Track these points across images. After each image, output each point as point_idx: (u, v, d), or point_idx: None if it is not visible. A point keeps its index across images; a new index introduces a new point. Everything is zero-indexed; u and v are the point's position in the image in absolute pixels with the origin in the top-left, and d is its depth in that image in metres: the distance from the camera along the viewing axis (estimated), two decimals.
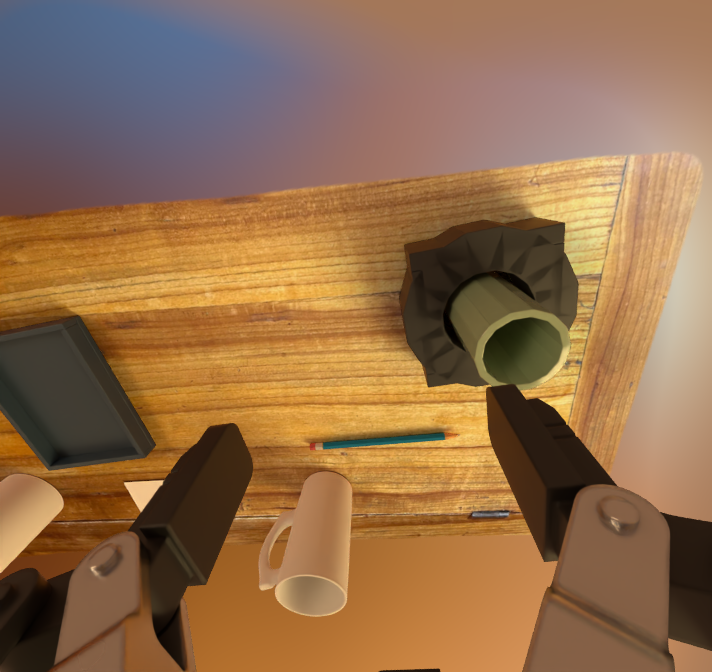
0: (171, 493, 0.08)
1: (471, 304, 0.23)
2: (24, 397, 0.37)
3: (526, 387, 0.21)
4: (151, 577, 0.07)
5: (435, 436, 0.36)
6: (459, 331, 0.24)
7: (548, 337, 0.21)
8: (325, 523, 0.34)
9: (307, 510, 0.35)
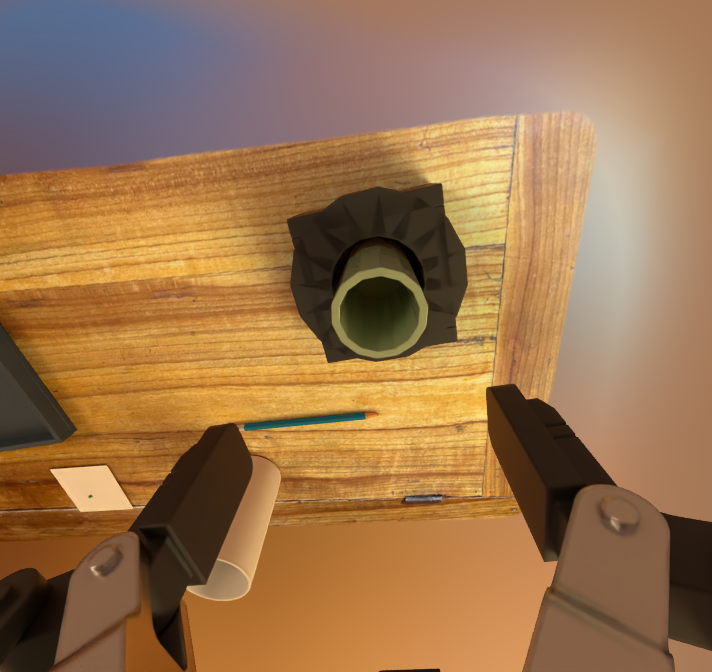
0: (171, 493, 0.08)
1: (345, 269, 0.22)
2: None
3: (391, 353, 0.20)
4: (151, 576, 0.07)
5: (356, 415, 0.35)
6: None
7: (416, 301, 0.20)
8: None
9: None
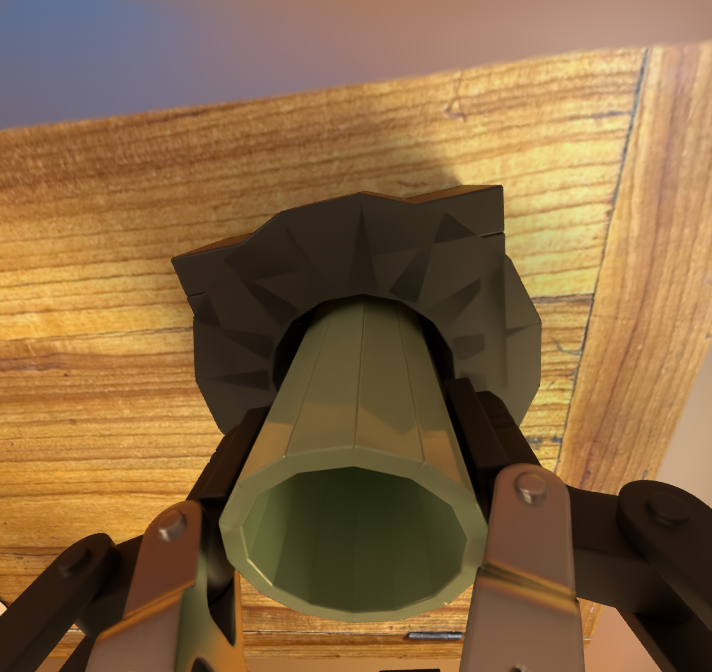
0: (223, 467, 0.08)
1: (285, 377, 0.10)
2: None
3: (386, 617, 0.08)
4: (213, 542, 0.07)
5: None
6: None
7: None
8: None
9: None
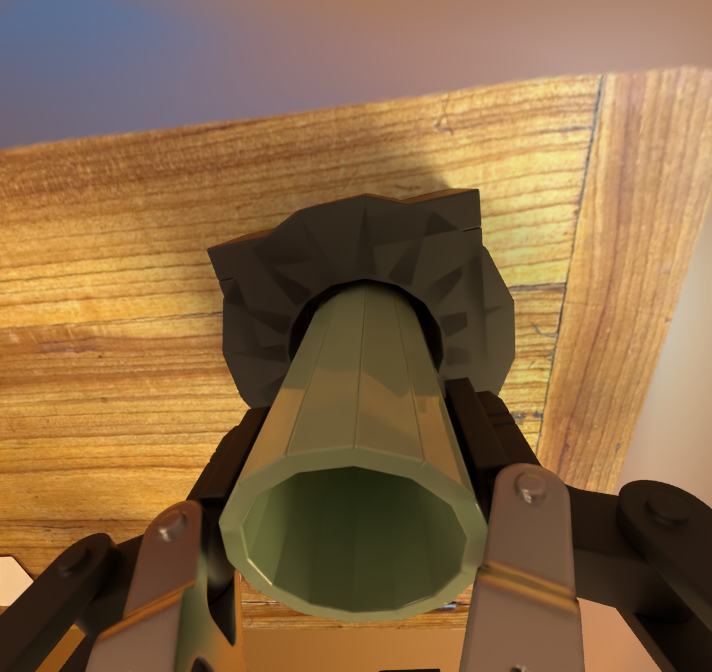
0: (223, 467, 0.08)
1: (285, 377, 0.10)
2: None
3: (386, 617, 0.08)
4: (214, 542, 0.07)
5: None
6: None
7: None
8: None
9: None
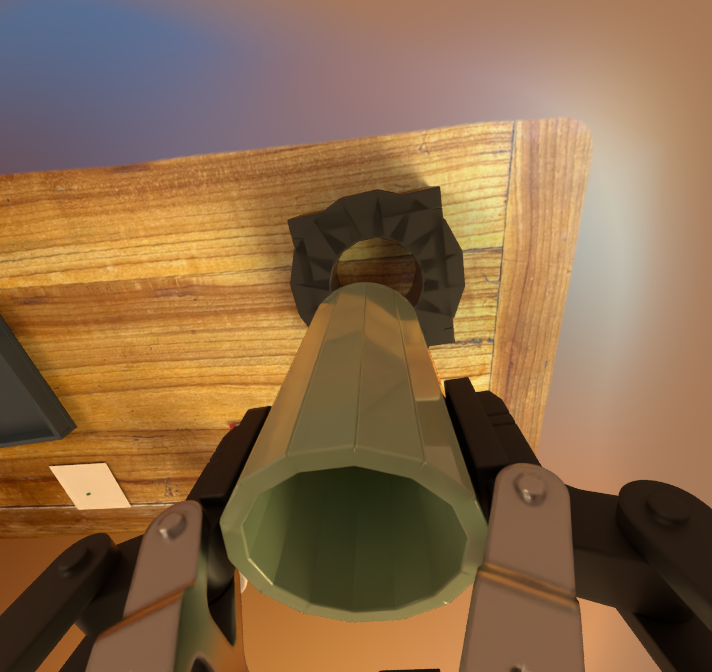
0: (223, 467, 0.08)
1: (286, 376, 0.10)
2: None
3: (386, 617, 0.08)
4: (213, 541, 0.07)
5: None
6: None
7: None
8: None
9: None
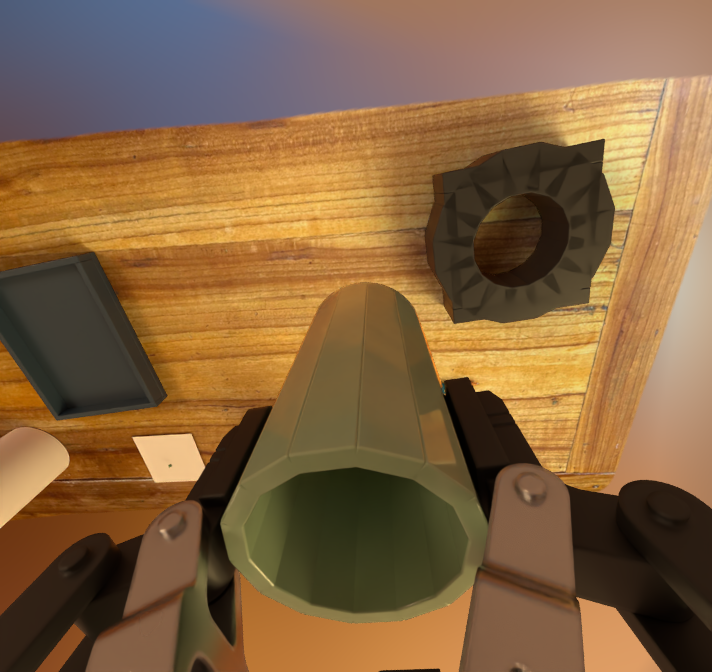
0: (223, 467, 0.08)
1: (286, 377, 0.10)
2: (34, 341, 0.36)
3: (387, 618, 0.08)
4: (213, 541, 0.07)
5: None
6: None
7: None
8: None
9: None
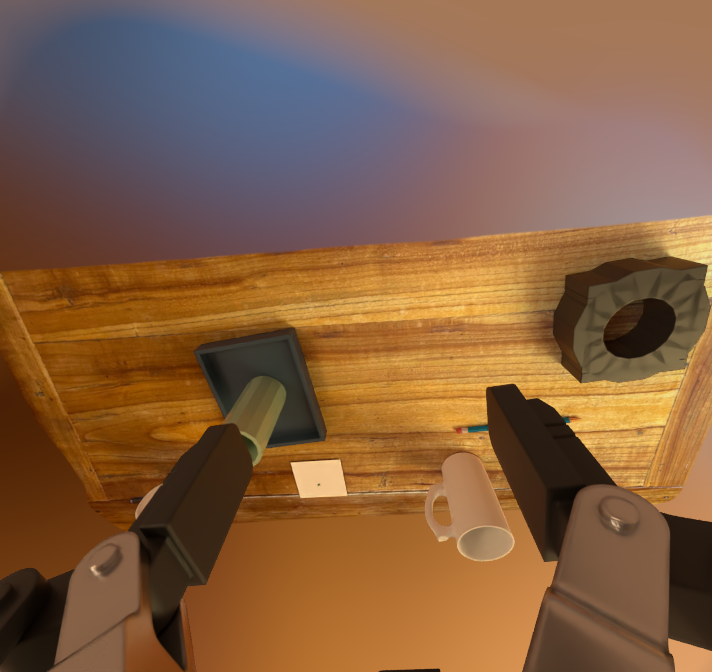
0: (171, 493, 0.08)
1: None
2: (231, 392, 0.46)
3: None
4: (151, 577, 0.07)
5: None
6: None
7: None
8: (483, 490, 0.43)
9: (463, 481, 0.45)
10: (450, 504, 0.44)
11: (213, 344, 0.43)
